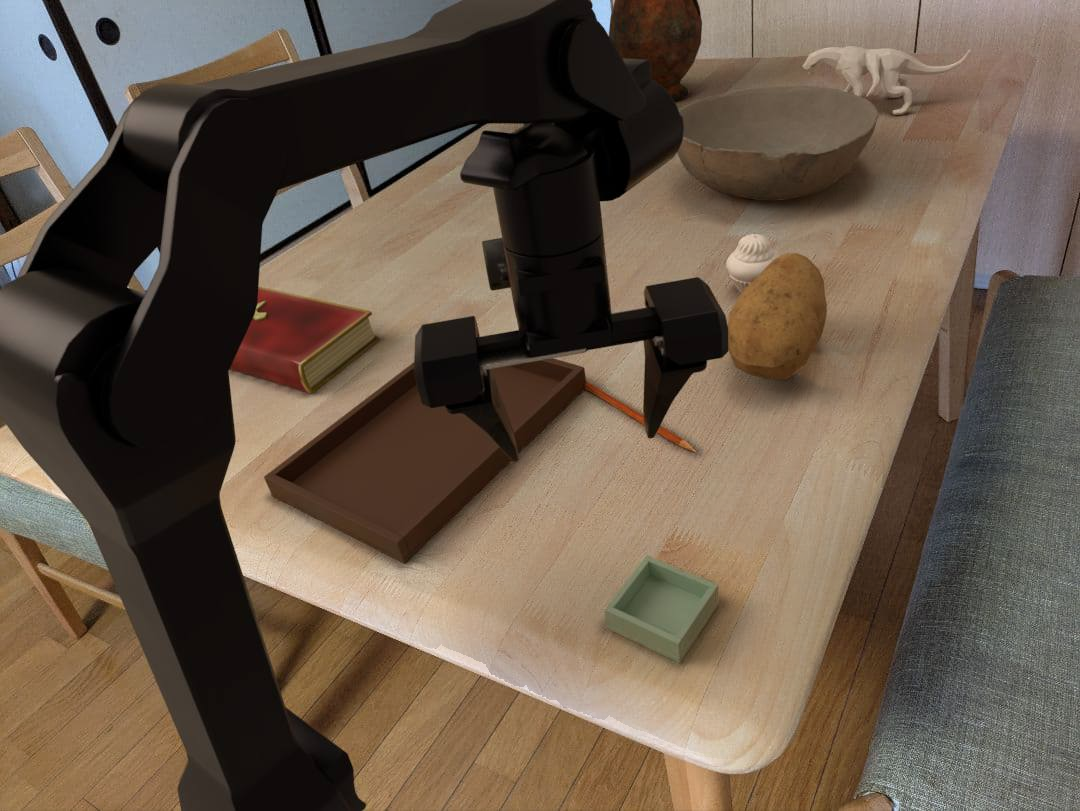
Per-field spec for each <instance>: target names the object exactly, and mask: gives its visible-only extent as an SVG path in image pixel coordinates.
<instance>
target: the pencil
mask: <svg viewBox="0 0 1080 811" xmlns="http://www.w3.org/2000/svg"><path fill="white" fill-rule="evenodd" d="M584 390H586V391H588V392H590V393H591V394H593V395H595V396H597V397H598V398H599V399H601V400H603V401H605V402H606V403H608V404H609V405H611V406H613V407H614V408H616V409H618V410H619V411H621V412H622V413H624V414H626V415H627V416H629V417H631V418H633V419H634V420H635V421H637V422H639V423H640V424H642V425H644V426H645V423H644V414H642V413H641V412H639V411H637V410H635V409H634V408H632V407H630V406H629V405H628V404H626V403H624V402H622V401H621V400H619V399H617V398H615V397H614V396H613V395H610V394H609V393H607V392H605V391H604V390H602V389H601V388H599V387H597V386H595V385H593V384H592V383H590V382H589V381H587V380H586V384H585V389H584ZM656 434H658V435H660V436H662V437H664V439H667V440H668V441H670V442H671V443H673V444H675V445H676V446H678V447H680V448H682V449H684V450H688V451H691V452H695V453H696V452H697V451H696V449H694V447H692V446H691V445H690V444H689V443H688V442H687V441H686V440H685V439H684V438H682V437H681V436H679V435H677V434H676V433H674V432H672V431H670V429H667V428H666V427H664V426H662V425H660V427H659V429H658V431H657V433H656Z"/></svg>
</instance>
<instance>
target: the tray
mask: <svg viewBox="0 0 1080 811" xmlns="http://www.w3.org/2000/svg"><path fill="white" fill-rule="evenodd" d="M585 369H586V368H585V366H582V365H577V364H574V363H571V362H567V361H564V360H561V359H557V358H552V359H546V360H540V361H534V362H529V363H523V364H517V365H511V366H506V367H500V368H494V369H493V373H494V377H495V380H496V384H497V387H498V389H499V392H500V395H501V398H502V401H503V403H504V406H505V409H506V412H507V415H508V418H509V421H510V423H511V426H512V429H513V432H514V436H515V441H516V446H517V451H518V454H519V453H520V452H522V451H523V450H524V449H525V448H526V447H527V446H528V445H529V444H530V443H531V442H532V441H533V440H534V439H535V438H536V437H537V436H538V435H539V434H540V433H541V432H542V431H543V430H545V429H546V427H547V426H548V425H550V424H551V423H552V421H554V420H555V419H556V417H558V416H559V415H560V414H561V413H563V411H564V410H565V409H566V408H567V407H568V406H569V405H570V404H571V403H572V402H573V401H574V400H576V399H577V397H578V396H579V395H580V394H581V393H582V392H583V391H584V390H586V389H585V384H586V381H587V376H586V370H585ZM510 462H512V460H511V459H510V458H509V457H508V456H507V455H506V454H505V453H504V451H503V450H502V449H501V448H500V447H499V446H498V445H497V444H496V442H495V441H494V440H493V439H492V438H491V437H490V436H489V435H488V434H487V433H486V432H485V431H484V430H483V429H481V428H480V427H479V426H478V425H477V424H475V423H474V422H473V421H472V420H470V419H469V418H468V417H467V416H465V415H464V414H461V413H460V414H449V413H448V412H447V411H446V408H445V406H441V407H435V408H429V407H427V406H424V405H422V403H421V399H420V396H419V392H418V389H417V385H416V380H415V373H414V361H413V362H412V363H411V364H409V365H408V366H407V367H406V368H404V369H403V370H402V371H400V372H399V373H398V374H396V375H394V376H393V377H392V378H391V379H390V380H388V381H387V382H386V383H384V384H383V385H381V386H380V387H378V388H377V390H375V391H374V392H373V393H371V394H370V395H368V396H367V397H366V398H364V400H362V401H361V402H359V404H357V405H355V406H354V407H353V408H351V409H350V410H349V411H347V412H346V413H345V414H343V416H341V417H340V418H338V420H336V421H334V422H333V423H332V424H330V425H329V426H328V427H327V428H326V429H324V430H323V431H321V432H320V433H319V434H318V435H316V436H315V437H314V438H312V439H311V440H310V441H308V442H307V443H306V444H305V445H303V446H302V447H300V448H299V449H298V450H297V451H296V452H294V453H293V454H291V455H290V456H289V457H288V458H286V459H285V460H284V461H282V462H281V463H280V464H278V465H277V466H276V467H274V468H273V469H272V470H271V471H270V472H268V473H266V474H265V475H264V476H263V479H264V481H265V484H266V485H267V488H268V490H269V492H270V494H271V497H273V498H274V499H277V500H279V501H280V502H282V503H284V504H286V505H288V506H291V507H292V508H295V509H297V510H298V511H300V512H302V513H304V514H306V515H308V516H310V517H312V518H314V519H316V520H317V521H320V522H321V523H324V524H325V525H328V526H329V527H331V528H333V529H336V530H337V531H339V532H342V533H343V534H345V535H347V536H349V537H351V538H353V539H355V540H356V541H358V542H361V543H362V544H365V545H366V546H369V547H371V548H372V549H375V550H377V551H378V552H380V553H383V554H384V555H387V556H389V557H390V558H392V559H395V560H396V561H399V562H400V563H402V564H406V563H407V562H408V561H409V560H410V559H411V558H412V557H413V556H414V555H416V553H417V552H418V551H420V550H421V549H422V547H424V546H425V545H426V544H427V543H428V542H429V541H430V540H431V539H432V538H433V537H434V536H435V535H436V534H437V533H438V532H439V531H440V530H441V529H442V528H443V527H445V525H446V524H447V523H448V522H450V520H451V519H452V518H453V517H455V516H456V514H457V513H458V512H460V511H461V510H462V509H463V508H464V507H465V506H466V505H467V504H468V503H469V502H470V501H471V500H472V499H473V498H474V497H475V496H476V495H478V493H479V492H480V491H481V490H482V489H484V487H485V486H487V485H488V483H490V481H492V480H493V479H494V478H495V476H498V474H499V473H500V472H501V471H502V470H503V468H505V467H506V466H507V465H508V464H509V463H510Z"/></svg>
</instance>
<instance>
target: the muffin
mask: <svg viewBox="0 0 1080 811" xmlns="http://www.w3.org/2000/svg"><path fill="white" fill-rule="evenodd" d="M780 256H781V255H780V253H779V252H778V251H776V250H775V249H774V248H773V247H772V246H771V241H770V239H769V238H768V237H767V236H766V235H763V234H759V233H758V234H757V233H754V234H753V233H751V234H747V235H746V236H742V238H741V239H739V241H738V244H737V247H736V248H735V250H734V251H733V252H731V254H729V255H728V258H727V260H726V262H725V267H726V270H727V272H728V275H729V278H730V280H731V281H732V283H733V284H734V286H735V287H736V289H737V291H738V292H739V294H741V293H742V292H743V291H744V290H745V289H746V288H747V287H748V286H749V285H750V284H751V283H752V282H753V281H754V280H755V279H756V278H757V277H758V276H759V275H760V274H761V273H762V271H763V270H764V269H765V268H766V267H767V266H768V265H769V264H770V263H771V262H772V261H773V260H774V259H776V258H778V257H780Z"/></svg>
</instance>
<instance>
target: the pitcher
mask: <svg viewBox="0 0 1080 811" xmlns="http://www.w3.org/2000/svg"><path fill="white" fill-rule="evenodd" d="M700 7H701V6H700V4H699V1H698V0H614V2H613V6H612V10H611V14H610V18H609V28H608V36H609V37H610V39H611V41H612V42H613V44H614V46H615V47H616V49H617V51H618V52H619V54H620V56H621V57H622V58H623V59H644V60H649V61H650V62H651V77H652V80H654V81H655V82H657V83H658V84H659V85H661V86H662V87H664V88H665V90H666V91H667V92H668V93H669V94H670V95H671V96H672V98H673V100H674V102H675V103H676V102H678V101H681V100H683V99H685V98H686V97H688V95H689V89H688V88H687V87H686V86H685V85H682V83H681V81H682V80H683V79H684V77H685V76H686V75H687V73H688V72H689V71H690V69H691V68H692V66H693V64H694V63H695V61H696V58H697V55H698V52H699V50H700V47H701V45H702V34H703V33H702V32H703V20H702V14H701V8H700Z"/></svg>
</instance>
